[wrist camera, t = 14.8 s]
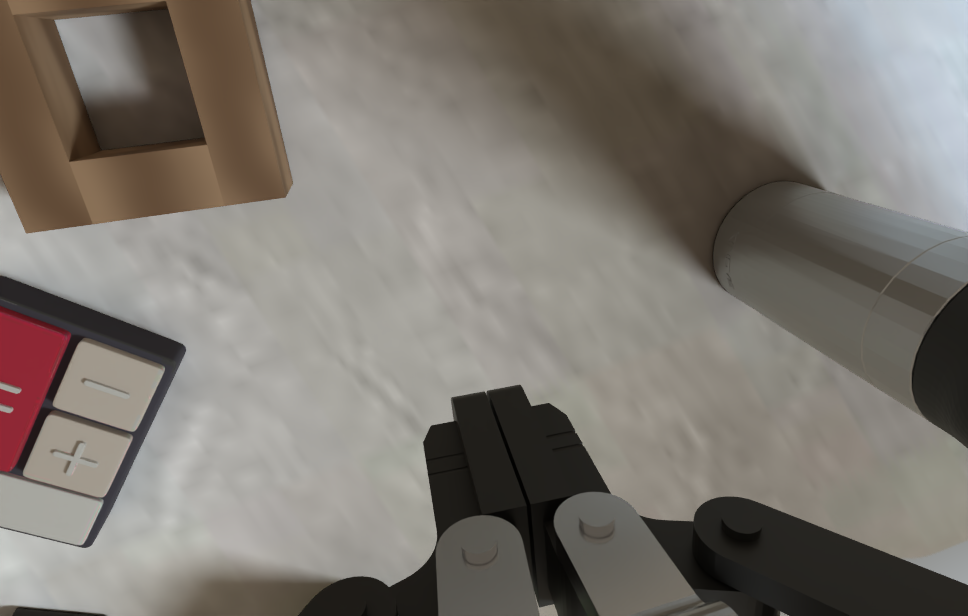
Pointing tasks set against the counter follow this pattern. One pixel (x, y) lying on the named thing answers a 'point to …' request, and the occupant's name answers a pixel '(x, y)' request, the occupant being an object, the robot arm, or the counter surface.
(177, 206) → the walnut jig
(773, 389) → the counter surface
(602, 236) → the counter surface
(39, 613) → the phone stand
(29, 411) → the calculator
